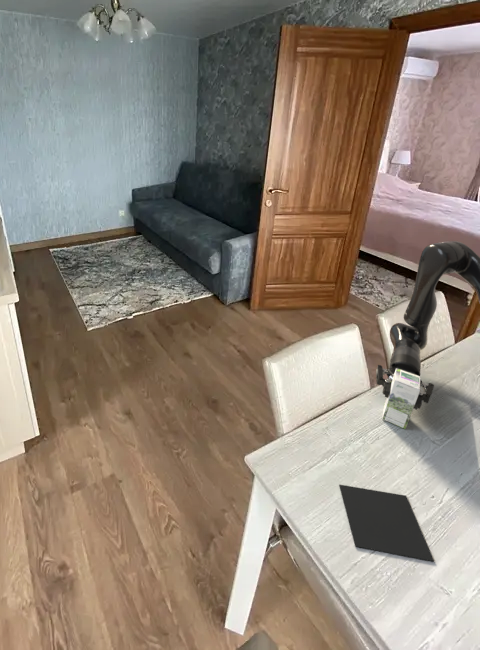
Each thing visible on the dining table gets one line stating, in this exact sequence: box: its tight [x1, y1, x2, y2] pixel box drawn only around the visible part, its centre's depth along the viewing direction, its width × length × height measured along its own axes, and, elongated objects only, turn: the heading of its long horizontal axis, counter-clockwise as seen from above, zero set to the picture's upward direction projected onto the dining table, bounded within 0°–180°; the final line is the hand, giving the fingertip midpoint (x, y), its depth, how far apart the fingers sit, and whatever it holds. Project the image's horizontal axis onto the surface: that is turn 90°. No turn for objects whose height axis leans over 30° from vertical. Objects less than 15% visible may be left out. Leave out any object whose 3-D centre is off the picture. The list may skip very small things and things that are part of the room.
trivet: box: [338, 484, 435, 563], centre depth 72 cm, size 14×12×1 cm
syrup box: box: [381, 368, 421, 430], centre depth 93 cm, size 6×6×14 cm
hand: (401, 400), depth 90 cm, fingers open, 6 cm apart
